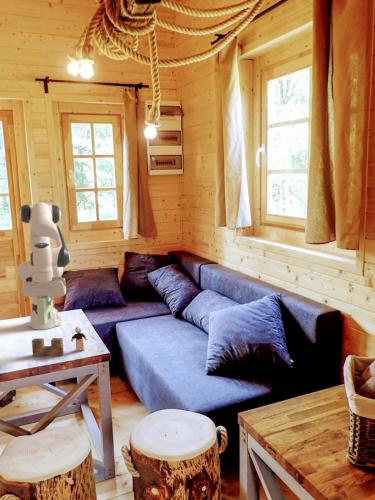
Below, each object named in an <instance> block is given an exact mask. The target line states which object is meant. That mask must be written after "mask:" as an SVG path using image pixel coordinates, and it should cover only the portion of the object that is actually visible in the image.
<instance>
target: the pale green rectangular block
mask: <svg viewBox="0 0 375 500" xmlns="http://www.w3.org/2000/svg"><path fill="white" fill-rule="evenodd" d="M50 300H51V298H50V296H41V297H40V298H39V299H37V310H38V325H45V324H46V323H47V322H48V319H51V318H52V317H54V314H53V300H54V299H53V300H52V305H48V301H50Z"/></svg>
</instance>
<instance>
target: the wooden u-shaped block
mask: <svg viewBox="0 0 375 500" xmlns="http://www.w3.org/2000/svg"><path fill="white" fill-rule="evenodd" d="M31 348H32V357H61V356H63V355H64V354H65V353H64V340H63V337H52V338H51V339H50V345H45V338H44V337H43V338H42V337H41V338H37V337H36V338H33V339H32V340H31Z"/></svg>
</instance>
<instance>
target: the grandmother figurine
mask: <svg viewBox="0 0 375 500" xmlns="http://www.w3.org/2000/svg"><path fill="white" fill-rule="evenodd" d="M82 329H83V328H82V327H81V326H80V325H77V326H76V327H75V328H74V332H75V334H73V335H72V337H71V340H70V341H71V342H74V340H75V349H76V350H75V351H76V352H77V353H79V352H84V351H86V348H85V343H84V340H85V341H88V338H87V336H86V335H85V334H84V333H82Z"/></svg>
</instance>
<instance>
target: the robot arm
mask: <svg viewBox="0 0 375 500" xmlns="http://www.w3.org/2000/svg"><path fill="white" fill-rule="evenodd" d="M19 209H20V210H19V213H18V214H19V219H21V222H22V223H25V224H30V230H29V231H30V233H29V249H30V251H31V253H30V254H29V255H30V256H29V257H30V261H24V262H20V263H19V264H18V266H17V268H16V273H17V276H18V277H19V279H21V280H22V281H23V283H22V292H21V293H22V296H23V297H24V298H27V297H28V298H31V300H32V302H31V303H32V304H31V309H32V311H31V312H30V319H29V321H30V322H29V324H28V325H27V326H28V327H29V328H31V329H33V330H37V331H38V330H40V331H41V330H48V329H52V328H56V327H59V326H61V324H62V322H63V316H59V310H58V309H56V308H55V300H54V298H55V297H64V296H66V294H67V287H66V283H67V282H66V278H64V277H63V273H64V268H65V267H67V266H68V265H69V264H70V262H71V255H70V252H69V250H68V248H67V245H66V242H65V239H64V235H63V232H62V230H61V228H60V226H59V225H57V223H59V222H60V219H61V216H62V213H61V209H60V207H59V206H58V205H55V204H47V203H46V202H43V201H41V202H36V203H34V204H27V203H26V204H23V205H22V206H21V207H20V208H19ZM51 239H53V240H54V241H55V245H56V247H51ZM41 296H50V298H51V300H50V301H48V305H52V300H53V314H54V317H52V318H51V319H48V322H47V323H46V324H45V325H38V310H37V299H39V298H40V297H41Z"/></svg>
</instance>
